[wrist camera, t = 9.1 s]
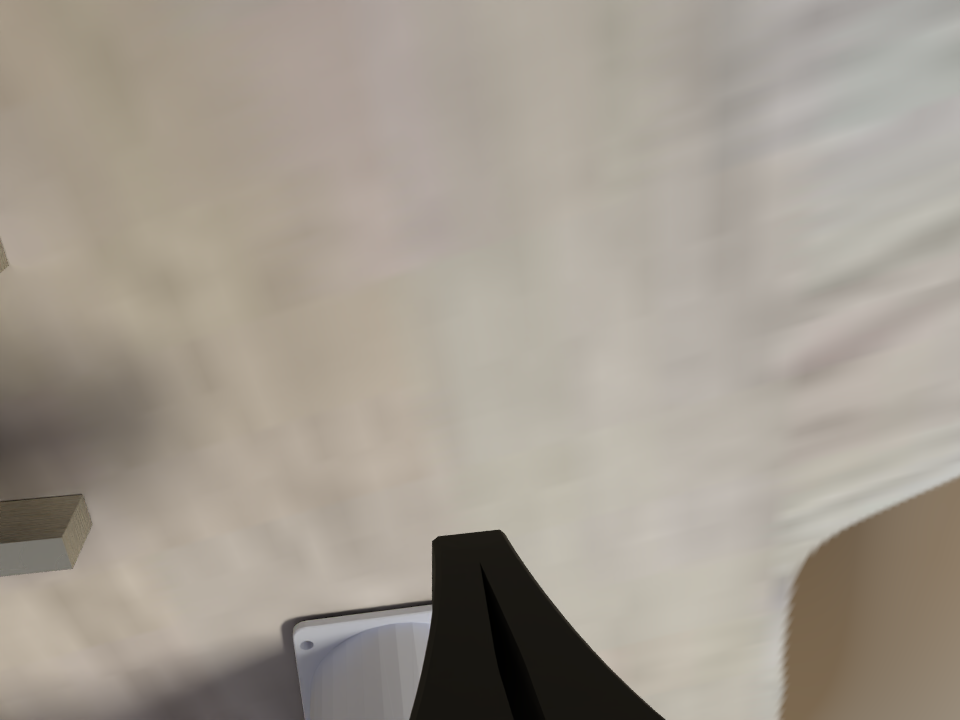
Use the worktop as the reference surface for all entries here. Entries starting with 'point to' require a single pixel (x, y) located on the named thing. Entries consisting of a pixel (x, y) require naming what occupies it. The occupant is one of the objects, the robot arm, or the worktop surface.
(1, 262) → the square frame with handle
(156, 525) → the worktop surface
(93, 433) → the worktop surface
